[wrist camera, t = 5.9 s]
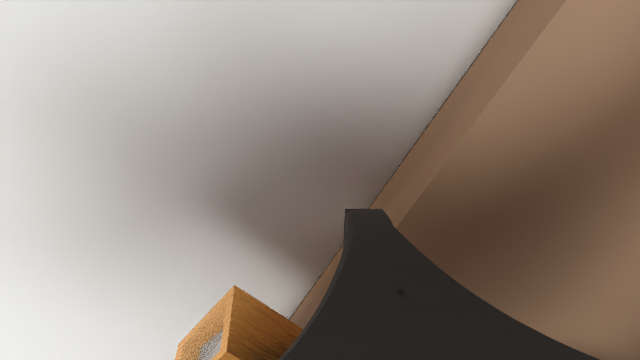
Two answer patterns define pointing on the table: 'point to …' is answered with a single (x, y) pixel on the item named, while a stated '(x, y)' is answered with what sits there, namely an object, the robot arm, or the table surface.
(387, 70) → the table surface
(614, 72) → the bench block
